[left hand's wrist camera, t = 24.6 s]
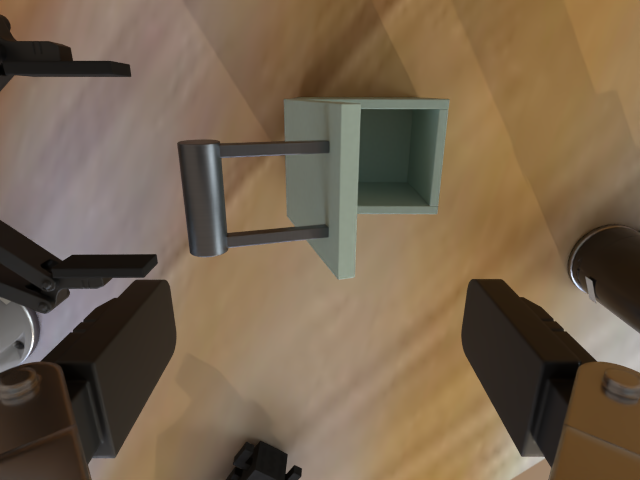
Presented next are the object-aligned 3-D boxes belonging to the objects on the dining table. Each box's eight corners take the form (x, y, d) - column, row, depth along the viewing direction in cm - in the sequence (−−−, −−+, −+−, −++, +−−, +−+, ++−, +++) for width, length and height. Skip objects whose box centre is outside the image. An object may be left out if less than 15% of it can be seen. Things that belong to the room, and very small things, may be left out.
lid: (361, 103, 21) (171, 104, 19) (355, 277, 25) (193, 299, 22) (296, 98, 34) (177, 99, 31) (298, 215, 37) (191, 224, 35)
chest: (419, 97, 45) (449, 99, 34) (411, 187, 48) (437, 214, 38) (297, 97, 45) (290, 98, 34) (299, 187, 48) (293, 213, 38)
